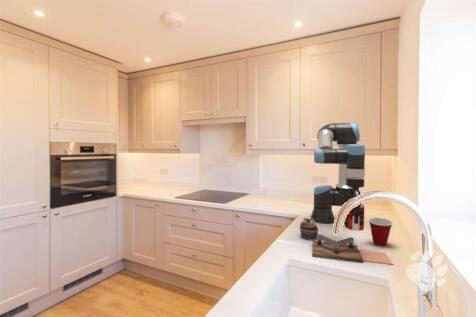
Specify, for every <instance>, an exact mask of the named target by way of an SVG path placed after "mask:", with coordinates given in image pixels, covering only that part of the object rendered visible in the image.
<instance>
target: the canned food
mask: <svg viewBox="0 0 476 317" xmlns="http://www.w3.org/2000/svg"><path fill="white" fill-rule="evenodd" d="M351 214H353V209H352V210H351V211H350V212H349V214H348V215H347V217H346V219H345V218H344V227H345V228H346V229H348V230H351V231H353V230H352V216H351ZM360 214H361V215H360V216H359V231H358V232H360V231H363V230H364V228H365V205H364V204H363V203H360Z"/></svg>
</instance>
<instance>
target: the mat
mask: <svg viewBox="0 0 476 317" xmlns="http://www.w3.org/2000/svg"><path fill="white" fill-rule="evenodd" d="M359 251H360V254H361V256H362V258H363V262H367V263H375V264H382V265H389V266H390V265H392V266H394V263H393V261H392V260H391V259H390V256H388V254H387V253H386V252H385V251H384V252H382V251H375V250H364V249H359Z"/></svg>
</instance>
